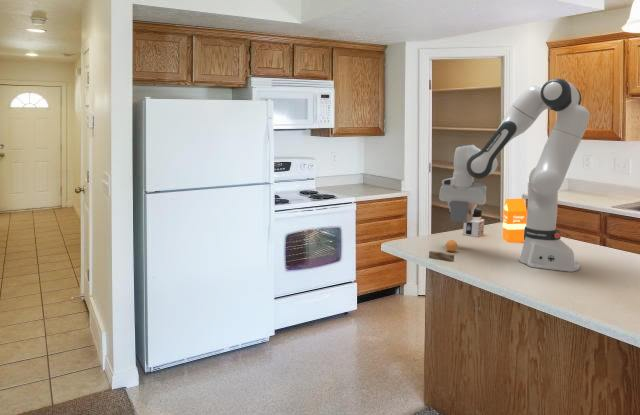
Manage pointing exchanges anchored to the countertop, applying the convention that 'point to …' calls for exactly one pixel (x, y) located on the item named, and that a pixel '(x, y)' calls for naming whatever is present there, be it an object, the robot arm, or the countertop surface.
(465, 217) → the matte gray box
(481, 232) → the container
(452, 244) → the ball
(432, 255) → the bar
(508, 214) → the orange juice
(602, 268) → the countertop surface
